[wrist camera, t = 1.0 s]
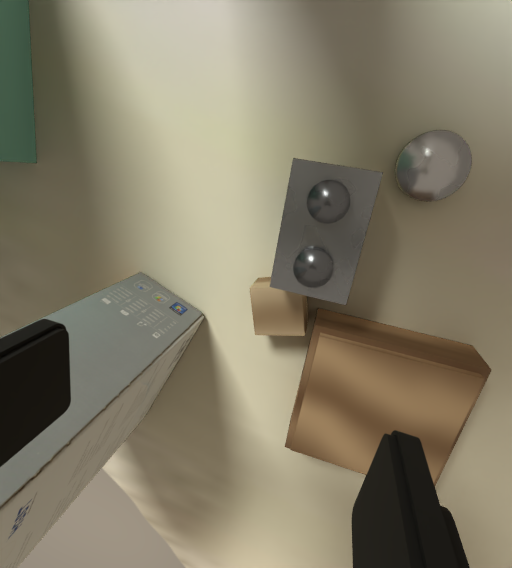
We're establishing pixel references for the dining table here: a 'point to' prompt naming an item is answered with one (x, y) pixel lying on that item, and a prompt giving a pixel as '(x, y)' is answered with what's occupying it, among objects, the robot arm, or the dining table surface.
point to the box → (16, 84)
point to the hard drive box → (93, 402)
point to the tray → (381, 391)
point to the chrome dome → (433, 165)
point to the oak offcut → (277, 310)
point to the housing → (323, 229)
